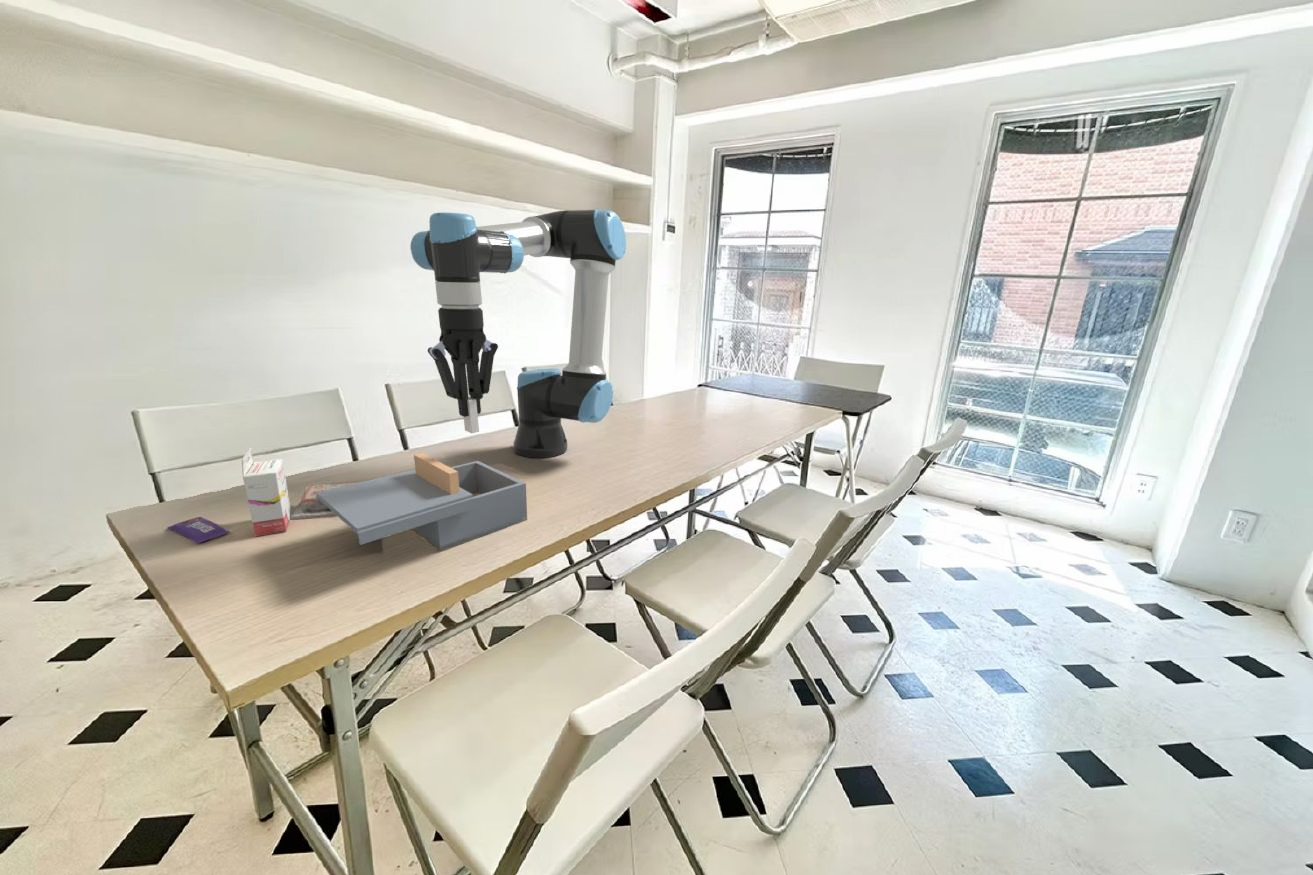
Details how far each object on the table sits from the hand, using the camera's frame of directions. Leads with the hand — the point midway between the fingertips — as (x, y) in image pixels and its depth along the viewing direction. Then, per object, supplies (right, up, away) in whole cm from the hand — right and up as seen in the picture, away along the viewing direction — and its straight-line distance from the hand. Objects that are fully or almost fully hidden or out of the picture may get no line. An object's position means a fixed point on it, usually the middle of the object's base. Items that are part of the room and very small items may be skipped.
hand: (471, 430), depth 98 cm
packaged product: (-28, -16, +7) cm, 33 cm away
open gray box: (-3, -18, +2) cm, 18 cm away
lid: (-10, -14, -8) cm, 19 cm away
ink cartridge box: (-36, -18, -3) cm, 41 cm away
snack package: (-48, -19, -6) cm, 52 cm away
